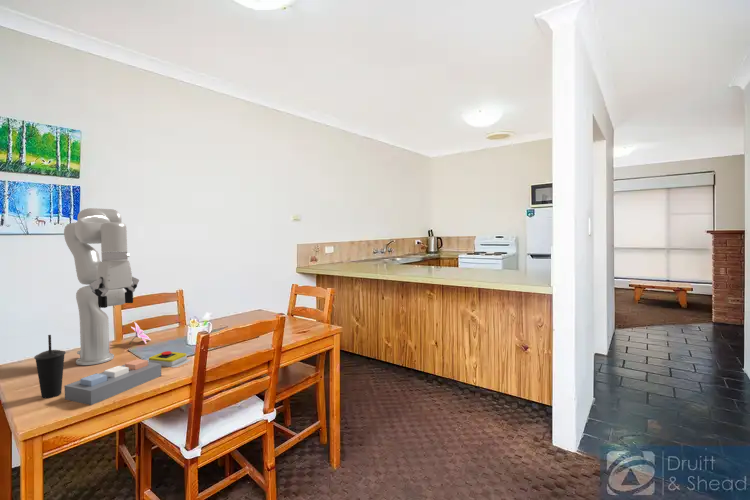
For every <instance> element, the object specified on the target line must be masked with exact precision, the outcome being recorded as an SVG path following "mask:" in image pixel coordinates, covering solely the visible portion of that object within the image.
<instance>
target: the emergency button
mask: <svg viewBox="0 0 750 500" xmlns="http://www.w3.org/2000/svg"><path fill="white" fill-rule="evenodd" d="M187 357H188V356H187V353H186V352H176V351H171V350H169V351H168V350H166V351H162V352H160V353H157V354H154V355H152V356H150V357H148V362H152V363H158V364H161V367H165V368H166V367H167V368H178V367H180V366H182V365H184V364H186V363H189V362H191V361H192V359H190V358H187Z"/></svg>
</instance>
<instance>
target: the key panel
mask: <svg viewBox="0 0 750 500" xmlns="http://www.w3.org/2000/svg"><path fill="white" fill-rule="evenodd" d="M121 366H123V367H125V364H122V365H121ZM98 374H103V375H104V371H103V372H99V373H98ZM161 376H162V366H161V364H158V363H152V362H149V361H148V366H145V367H142V368H140V369H137V370H131V369H129V373H126V374H124V375H121V376H118V377H116V378H112V377H107V381H105V382H102V383H100V384H97V385H94V386H92V387H90V386H85V385H81V384H80V380H77V381H74V382H71V383H69V384H65V385H64V387H63V388H64V400H67V401H70V402H75V403H79V404H85V405H88V404H89V406H93V405H94V404H95V405H96V404H97V403H100V402H102V401H105V400H107V399H109V398H112V397H114V396H117V395H119V394H121V393H124V392H126V391H128V390H131V389H134V388H135V387H138V386H141V385H143V384H145V383H147V382H150V381H152V380H155V379H157V378H159V377H161Z"/></svg>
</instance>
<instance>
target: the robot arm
mask: <svg viewBox="0 0 750 500" xmlns="http://www.w3.org/2000/svg"><path fill="white" fill-rule="evenodd" d="M127 232H128V231H127V224H125V223H124V222H122V215H121V213H120V212H119V211H118V210H117V209H113V208H112V209H111V208H96V207H93V208H84V209H82V210H80V211H79V212H78V214H77V221H76V222H70V223H68V224H66V225H65V227H64V230H63V237H64V241H65V242H66V243H65V245H66V246H67V248H68V249H69V251H70V253H71V255H72V256H73V259H74V265H75V271H76V272H75V273H76V276H77V280H78V282H79V283H80V284H82V285H86V286H82V287H80V288H79V289H78V290H77V291H76V294H75V299H76V303H77V309H78V315H79V335H80V338H79V339H80V342H79V343H80V349H79V350H78V351H76V354H77V355H79V358H77V359H76V360H75V364H76V365H78V366H94V365H98V364H102V363H106V362H109V361H111V360H113V359H114V358H115V355H114V353H111V352H110V326H109V325H110V323H109V316H108V314H107V313H106V312H105V311H103V310H102V309H101V308H103V309H105V308H108V307H115V306H121V305H124V304H133V303H134V292H135V291H136V288H137V287H138V284H139V281H140V280H139V279H138V278H136V277H134V276H133V275H132V273H133V272H132V268H131V263H130V260H128V258H130V253H128V239H127V238H128V236H127V234H128V233H127ZM91 244H92V245H93V244H100V248H101V249H100V250H101V259H100V254H99V252H98V251H97V250H96V248H94V247H93V246H92V245H91Z"/></svg>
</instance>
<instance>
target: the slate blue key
mask: <svg viewBox="0 0 750 500" xmlns="http://www.w3.org/2000/svg"><path fill="white" fill-rule="evenodd" d="M105 381H107V375H103V374H99V373H94V374H91V375H88V376H85V377H82V378H80V384H81V385H85V386H90V387H92V386H94V385H97V384H100V383H102V382H105Z"/></svg>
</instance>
